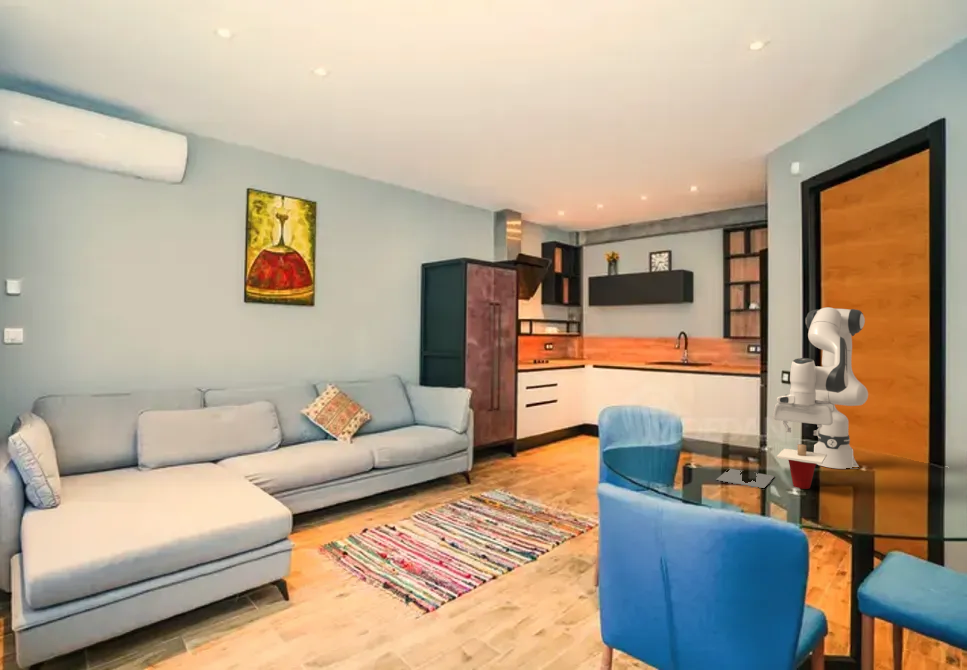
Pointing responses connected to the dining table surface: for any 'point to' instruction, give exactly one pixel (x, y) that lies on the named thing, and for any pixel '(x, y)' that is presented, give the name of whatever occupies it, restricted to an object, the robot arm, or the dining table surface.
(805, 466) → the plastic cup
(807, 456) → the lid
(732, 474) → the mat
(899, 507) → the dining table surface
